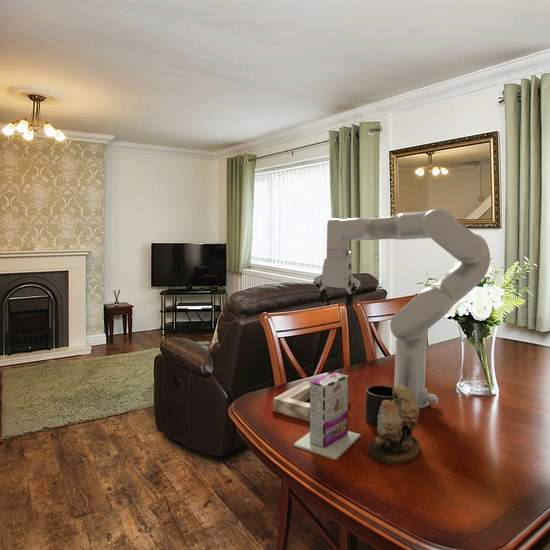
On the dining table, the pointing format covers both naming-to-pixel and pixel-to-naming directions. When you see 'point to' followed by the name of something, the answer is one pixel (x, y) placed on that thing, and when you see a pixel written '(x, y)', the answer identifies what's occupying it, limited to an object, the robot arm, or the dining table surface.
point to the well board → (294, 401)
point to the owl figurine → (396, 429)
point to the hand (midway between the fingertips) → (336, 303)
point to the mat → (331, 450)
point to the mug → (376, 401)
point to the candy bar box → (328, 409)
